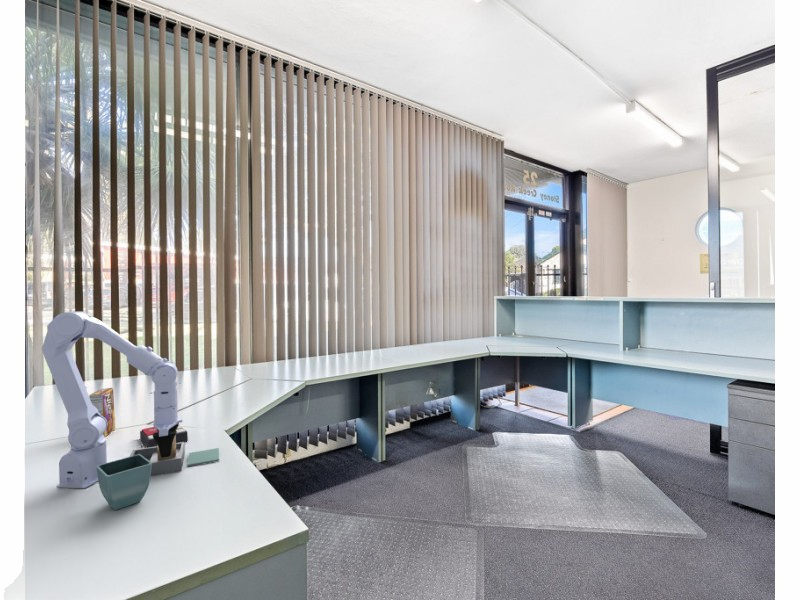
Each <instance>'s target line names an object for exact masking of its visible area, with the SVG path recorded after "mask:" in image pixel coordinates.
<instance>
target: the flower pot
mask: <svg viewBox="0 0 800 600" xmlns="http://www.w3.org/2000/svg"><path fill="white" fill-rule="evenodd" d="M151 467H152V462H150V461H149V460H147V459H146V458H144V457H143V456H142V455H140V454H138V455H134V456H130V455H129V456H127V457H124V458H120V459H116V460H112V461H109V462H107V463H105V464H101V465H98V466H97V467H96V468H97V475H98V481H97V482H98V486H99V490H100V492H101V495H102V496H103V498H104V499H105V501H106V502H107V503H108V505H109V506H110V507H111V508H112V509H113V510H114V511H117V510H120V509H122V508H125V507H128V506H131V505H134V504H137V503H140V502H141V501H142V500H143V498H144V496H145V494H146V493H147V491H148V488H149V485H150V481H151V477H150V475H151Z"/></svg>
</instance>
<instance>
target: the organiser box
mask: <svg viewBox="0 0 800 600" xmlns="http://www.w3.org/2000/svg"><path fill="white" fill-rule="evenodd" d="M185 443H186V442H181V443H176V457H174V458H172V459H167V460H162V461H160V460H158V458H157V446H155V447H149V448H146V447H144V448H136V449H132V451H131V453H130V455H129V457H130V456H134V455H138V454H140V455H142V456H143V457H144V458H146V459H147V460H149V461H150V462H152V467H151V475H150V478H151V477H155V476H160V475H166V474H172V473H177V472H182V470H183V464H184V459H185V453H186V449H185V448H186V447H185V445H186V444H185Z"/></svg>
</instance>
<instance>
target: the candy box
mask: <svg viewBox="0 0 800 600" xmlns="http://www.w3.org/2000/svg"><path fill="white" fill-rule="evenodd" d="M88 395H89V398H90V400H91V403H92V405H93V406H95V407H96V408H97V409H98V412H99V413H100V415H102V416H103V417H104V418H105V419H106V420H107V423H108V426H107V429H106V431H105V432H104V433H103V435H104V437H105V438H107V436H108V435H110V434H111V433H112V432H113V431H115V430H116V415H115V412H116V411H115V400H114V399H115V398H114V395H115V394H114V388H113V387H107V388H100V389H98V390H97V391H94V392H92V393H90V394H88Z"/></svg>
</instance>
